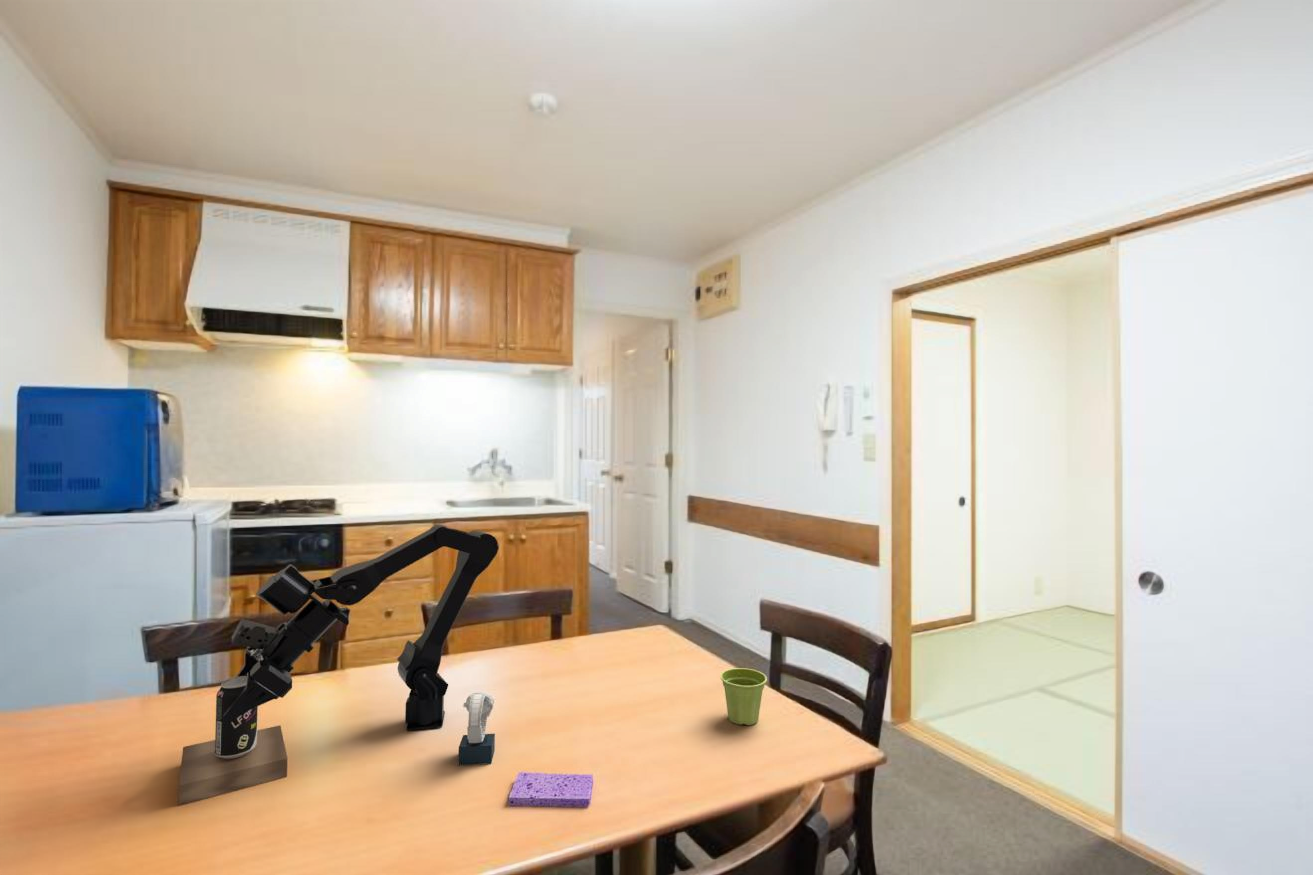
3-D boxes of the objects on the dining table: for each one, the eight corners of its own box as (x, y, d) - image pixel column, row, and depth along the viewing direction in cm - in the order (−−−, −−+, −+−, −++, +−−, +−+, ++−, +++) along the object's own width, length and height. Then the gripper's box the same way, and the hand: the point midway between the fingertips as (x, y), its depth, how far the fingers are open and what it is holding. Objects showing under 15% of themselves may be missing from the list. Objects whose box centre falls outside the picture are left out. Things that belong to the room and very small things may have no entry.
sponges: (518, 782, 98) (518, 771, 98) (594, 783, 98) (594, 772, 98) (507, 809, 91) (507, 796, 91) (589, 810, 91) (590, 797, 91)
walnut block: (280, 741, 109) (280, 725, 109) (286, 776, 98) (287, 758, 98) (182, 764, 101) (183, 746, 101) (178, 805, 90) (178, 785, 90)
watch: (495, 745, 109) (497, 685, 109) (489, 768, 101) (491, 704, 101) (464, 746, 108) (465, 686, 109) (455, 770, 101) (457, 705, 101)
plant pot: (745, 734, 115) (746, 689, 115) (710, 717, 122) (711, 674, 122) (775, 720, 121) (776, 677, 121) (740, 704, 128) (741, 664, 128)
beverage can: (263, 742, 103) (264, 673, 103) (246, 760, 97) (247, 686, 97) (226, 745, 102) (228, 674, 102) (207, 762, 96) (209, 688, 96)
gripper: (263, 590, 110) (185, 663, 103) (269, 615, 95) (178, 702, 88) (311, 626, 114) (239, 698, 108) (324, 655, 99) (242, 740, 93)
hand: (225, 707), depth 99 cm, fingers open, 9 cm apart
